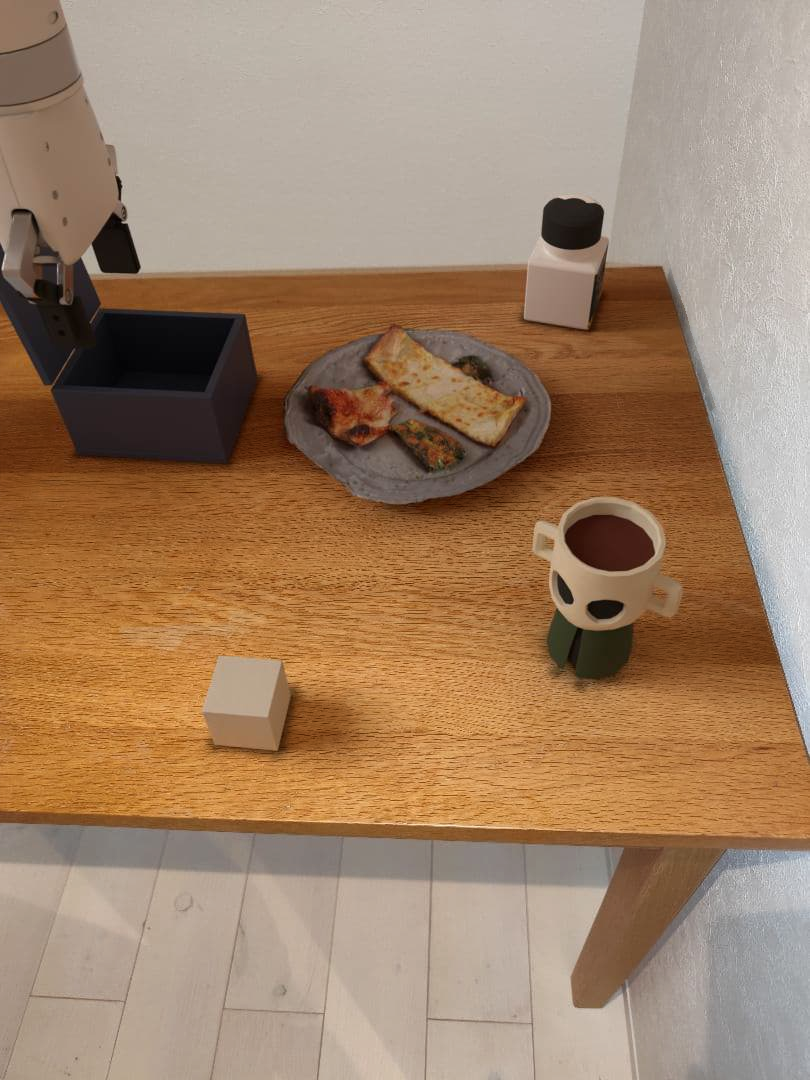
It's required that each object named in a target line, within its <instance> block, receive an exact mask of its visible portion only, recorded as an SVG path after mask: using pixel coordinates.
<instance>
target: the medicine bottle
mask: <svg viewBox="0 0 810 1080" xmlns="http://www.w3.org/2000/svg"><path fill="white" fill-rule="evenodd" d="M604 218H605V209H604V207H603V206H602V204H601V203H600V202H598V201H597V200H596V199H594V198H592V197H589V196H586V195H581V194H563V195H559V196H555V197H554V198H552V199H550V200H549V201H548V202H547V203H546V204H545V205H544V207H543V208H542V218H541V220H542V221H541V231H540V235H539V238H538V239H537V242H536V244H535V246H534V248H533V250H532V253H531V255H530V257H529V260H528V261H527V269H526V270H527V271H526V282H525V296H524V309H523V319H524V320H525V321H528V322H535V323H541V324H547V325H553V326H559V327H564V328H571V329H577V330H583V331H588V330H589V329H590V328H591V325H592V322H593V320H594V316H595V313H596V310H597V307H598V304H599V301H600V298H601V296H602V290H603V283H604V277H605V270H606V269H605V268H606V263H607V257H608V250H609V243H610V239H609V237H607V236H604V235H603V236H602V232H603V226H604Z"/></svg>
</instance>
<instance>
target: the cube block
mask: <svg viewBox="0 0 810 1080" xmlns="http://www.w3.org/2000/svg"><path fill="white" fill-rule="evenodd" d="M289 686H290V685H289V682H288V679H287V674H286V670H285V666H284V662H283V660H282V659H281V660H280V659H271V658H270V659H269V658H257V657H245V656H233V655H232V656H231V655H218V658H217V661H216V665H215V668H214V670H213V674H212V677H211V681H210V683H209V687H208V689H207V694H206V696H205V700H204V703H203V706H202V708H201V709H202V710H201V713H202V716H203V718H204V721H205V723H206V726H207V729H208V731H209V733H210V736H211V739H212V741H213V743H214V745H215V746H221V747H231V748H232V747H234V748H245V749H255V750H267V751H279V748H280V744H281V738H282V736H283V735H282V734H283V730H284V726H285V722H286V718H287V713H288V709H289V706H290V701H291V696H292V694H291V691H290V690H291V689H290V687H289Z"/></svg>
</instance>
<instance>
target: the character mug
mask: <svg viewBox="0 0 810 1080" xmlns="http://www.w3.org/2000/svg"><path fill="white" fill-rule="evenodd" d="M532 536H533V538H532V547H531V549H532V553H533V554H534V555H535V556H536V557H538V558H541V559H542V560H544V561H547V562H549V563H550V567H549V568H550V569H549V574H548V575H549V576H548V587H549V592H550V597H551V600H552V601H553V603H554V604H555V607H556V609H555V612H554V615H553V617H552V620H551V623H550V625H549V629H548V632H547V637H546V643H547V649H548V650H547V651H548V654H549V656H550V658H551V659H552V660H553V661H554V663H555V664H556V666H557V667H558V668H559V669H561V670H562V671H565V667H566V664H567V661H569V663H571V664H572V665H575V670H574V671H575V672H574V677H576V678H577V679H583V680H594V681H599V680H602V679H605V678H608V677H612V676H615V675H616V674H617V673H618V672H620V670H621V669H622V668H624V666H626V664H627V663H628V662H629V659H630V655H631V651H632V648H633V638H634V622H635V621H636V620H637V619H638V618H640V617H641V616H642V615H643V614H645V612H646V611H647V610H650V611H652V612H654V613H656V614H658V615H661V616H663V617H666V618H672V617H674V616H675V615H676V614H677V613H678V610H679V607H680V604H681V601H682V598H683V595H684V588H683V584H682V582H680V581H678V580H676V579H675V578H672V577H670V576H667V575H665V574H663V573H661V572H660V570H661V565H662V562H663V559H664V555H665V551H666V549H667V547H666V546H667V540H666V536H665V531H664V527H663V525H662V524H661V522H659V520H658V519H657V518H656V516H655V515H654V514H653V513H652V512H651V511H649V510H648V509H646V508H645V507H643V506H641V505H639V504H638V503H637V502H635V501H631V500H627V499H623V498H619V497H616V496H601V497H600V496H599V497H598V496H595V497H591V498H588V499H585V500H582V501H579V502H575V503H574V504H573V505H572V506H571V507H570V508H568V509H567V510H566V511H564V512H563V513H562V515H561V517H560V520H559V523H558V525H555V524H553V523H551V522H549V521H547V520H538V521H536V523H535V525H534V529H533V535H532ZM547 539H549V540H551V541H553V547H551V546H549V545H548V544H547ZM655 588H656V589H658V590H659V591H663V592H664V593H665V594H666V596H665V599H663V598H661V597H659V596H656V595H654V591H655Z"/></svg>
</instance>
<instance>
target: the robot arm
mask: <svg viewBox="0 0 810 1080" xmlns="http://www.w3.org/2000/svg"><path fill="white" fill-rule="evenodd" d="M84 83H85V79H84V75H83V72H82V69H81V67H80V62H79V60H78V56H77V53H76V50H75V46H74V44H73V40H72V37H71V33H70V30H69V27H68V24H67V21H66V17H65V14H64V10H63V6H62V4H61V0H0V243H1V245H2V248H3V250H4V252H5V256H4V260H3V265H2V275H3V277H4V278H5V280H6V281H7V282H9V283H10V284H11V285H12V286H13V287H14V288H15V289H16V290H17V293H18V295H19V296H20V297H21V298H23V299H26V300H28V302H29V303H30V304H35V305H36V307H37V309H38V312H39V314H40V317H41V319H42V321H43V324H44V326H45V329H46V331H47V333H48V336H49V338H50V341H51V343H52V345H53V346H55V347H57V348H74V350H75V349H93V348H94V347H95V345H96V343H97V340H96V338H95V335H94V332H93V330H92V327H91V324H90V323H91V321H89V319H88V316H87V313H86V311H85V308H84V305H83V302H82V300H81V297H77V296H73V264H74V263H75V262H76V261H78V260H79V259H80V258H82V257H83V256H84V254H86V252H87V251H88V250H89V248H90V246H91V247H92V250H93V253H94V256H95V258H96V261H97V262H96V263H97V265H98V268H99V270H100V272H101V273H102V274H119V275H120V274H125V275H130V274H131V275H137V274H139V272H140V271H141V269H142V266H141V263H140V259H139V255H138V252H137V250H136V249H137V248H136V246H135V243H134V239H133V236H132V233H131V229H130V226H129V224H128V222H127V223H126V221H128V216H129V215H128V210H127V207H126V205H125V204H124V203H123V201H122V190H123V184H122V183H123V181H122V180H121V178H120V176H119V175H118V174H119V170H118V161H117V152H116V147H115V146H114V145H113V144H108V143H107V144H106V141H105V139H104V136H103V133H102V131H101V130H102V129H101V127H100V125H99V122H98V119H97V117H96V114H95V111H94V109H93V106H92V104H91V101H90V98H89V95H88V94H87V91H86V89H85V86H84ZM123 222H124V223H123ZM40 246H42V247H51V248H52V250H53V251H58V252H59V255H47V254H40ZM42 266H57V285H56V284H54V283H51V282H49V281H47V280H44V279H43V271H42Z"/></svg>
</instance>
